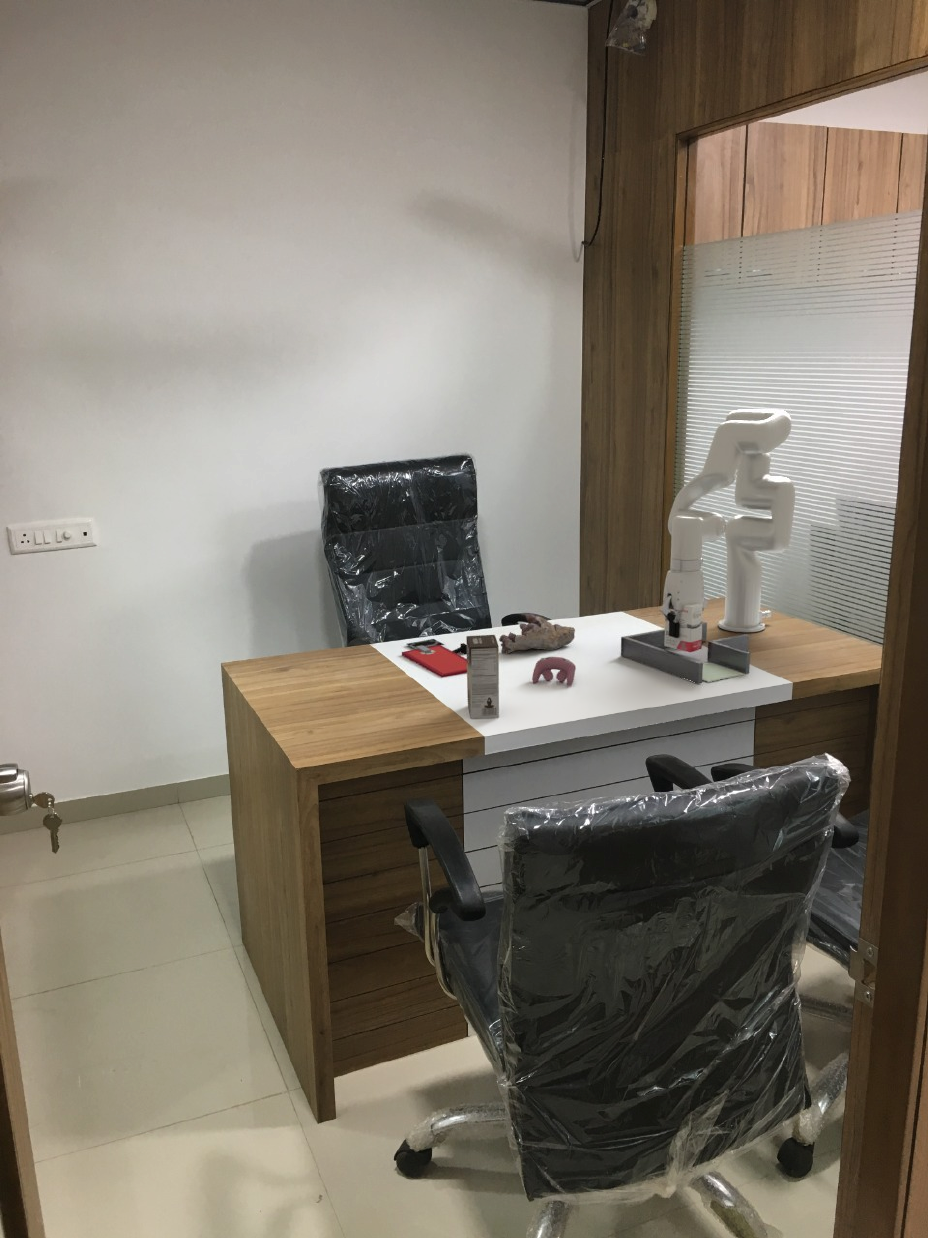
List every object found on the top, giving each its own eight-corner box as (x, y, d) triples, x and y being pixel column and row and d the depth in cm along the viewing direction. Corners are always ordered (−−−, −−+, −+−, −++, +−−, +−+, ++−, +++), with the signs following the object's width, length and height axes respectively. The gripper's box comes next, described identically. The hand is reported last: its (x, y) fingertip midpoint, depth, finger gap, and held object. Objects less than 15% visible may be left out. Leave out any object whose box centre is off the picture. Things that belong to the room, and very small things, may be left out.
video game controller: (575, 689, 237) (578, 659, 238) (571, 685, 233) (574, 656, 234) (534, 685, 240) (537, 656, 242) (530, 682, 236) (533, 653, 237)
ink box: (702, 649, 255) (704, 604, 252) (689, 653, 252) (691, 607, 249) (675, 642, 261) (677, 598, 259) (663, 646, 258) (664, 601, 255)
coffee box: (466, 705, 222) (465, 635, 218) (495, 704, 223) (494, 634, 219) (470, 719, 213) (469, 646, 209) (500, 718, 214) (499, 645, 210)
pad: (709, 664, 249) (709, 662, 249) (742, 675, 240) (742, 673, 240) (676, 671, 244) (676, 669, 244) (708, 682, 235) (708, 681, 235)
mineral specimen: (520, 641, 253) (508, 607, 258) (500, 661, 260) (488, 628, 265) (582, 641, 265) (569, 609, 269) (561, 660, 272) (549, 629, 276)
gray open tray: (703, 639, 271) (703, 621, 270) (784, 664, 248) (785, 645, 246) (620, 655, 258) (621, 637, 256) (698, 684, 234) (699, 663, 233)
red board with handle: (439, 641, 275) (389, 650, 268) (439, 631, 274) (389, 639, 267) (495, 670, 249) (442, 680, 242) (495, 659, 249) (441, 669, 242)
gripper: (700, 558, 259) (697, 627, 263) (649, 566, 250) (647, 636, 255) (721, 563, 253) (718, 633, 257) (669, 571, 244) (667, 643, 248)
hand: (683, 634), depth 256 cm, fingers closed on ink box, 5 cm apart
